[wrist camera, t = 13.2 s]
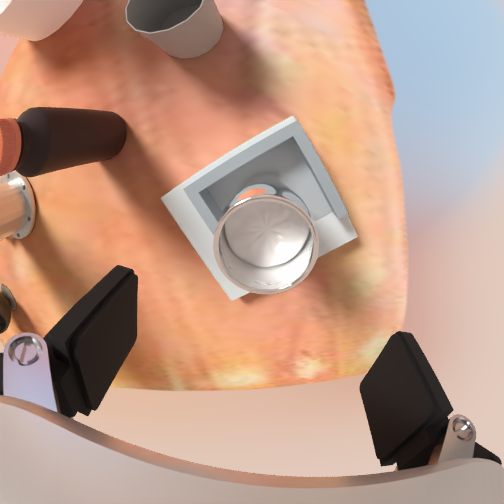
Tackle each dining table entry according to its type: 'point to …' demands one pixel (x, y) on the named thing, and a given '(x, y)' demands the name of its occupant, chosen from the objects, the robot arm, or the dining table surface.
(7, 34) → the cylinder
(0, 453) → the robot arm
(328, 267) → the dining table surface
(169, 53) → the cup
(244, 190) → the beer glass
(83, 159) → the bottle
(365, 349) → the dining table surface
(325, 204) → the dock
